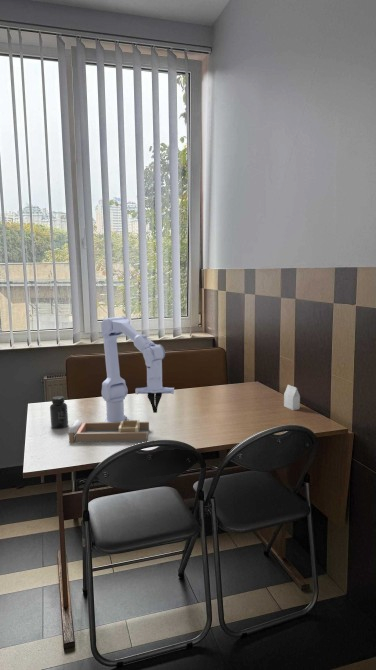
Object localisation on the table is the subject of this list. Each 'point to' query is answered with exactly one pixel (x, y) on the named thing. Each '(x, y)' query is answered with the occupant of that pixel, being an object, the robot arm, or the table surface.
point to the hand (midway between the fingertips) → (155, 412)
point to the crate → (129, 426)
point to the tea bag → (291, 398)
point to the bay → (105, 432)
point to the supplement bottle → (58, 412)
